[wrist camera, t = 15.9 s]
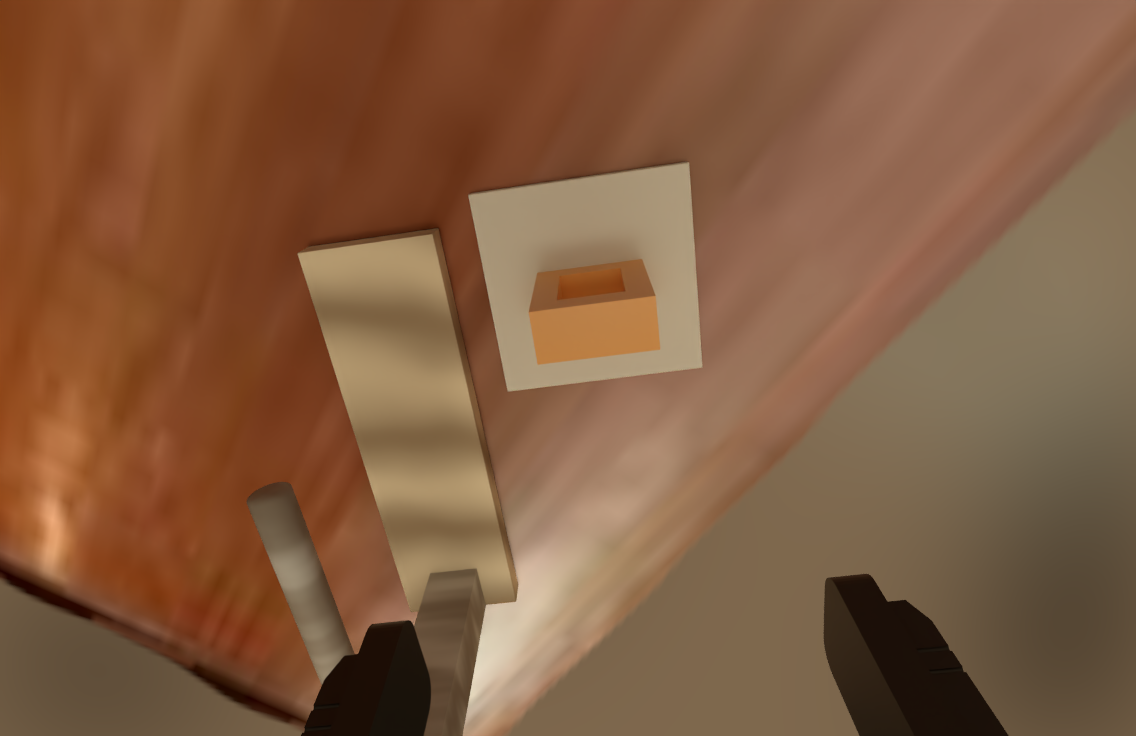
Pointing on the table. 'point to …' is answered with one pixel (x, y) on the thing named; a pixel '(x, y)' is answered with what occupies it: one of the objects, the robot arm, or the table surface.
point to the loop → (593, 312)
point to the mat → (591, 263)
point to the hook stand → (402, 461)
